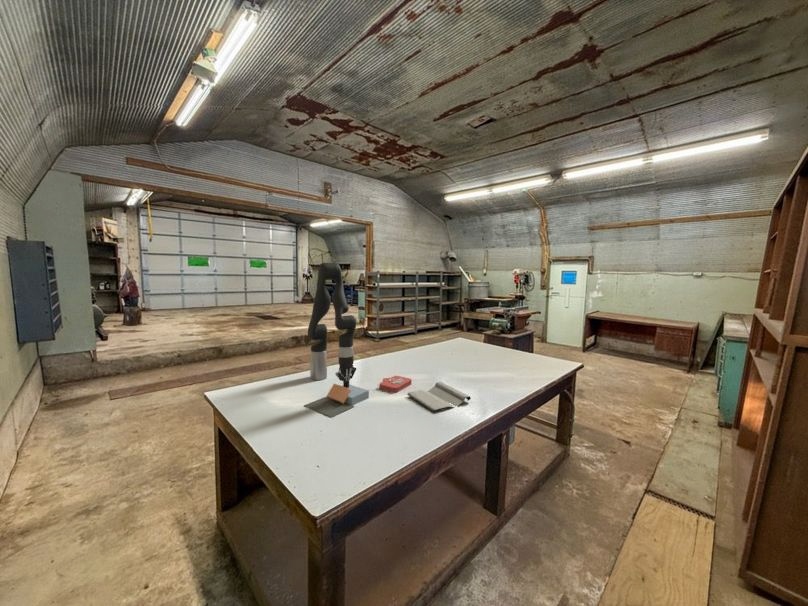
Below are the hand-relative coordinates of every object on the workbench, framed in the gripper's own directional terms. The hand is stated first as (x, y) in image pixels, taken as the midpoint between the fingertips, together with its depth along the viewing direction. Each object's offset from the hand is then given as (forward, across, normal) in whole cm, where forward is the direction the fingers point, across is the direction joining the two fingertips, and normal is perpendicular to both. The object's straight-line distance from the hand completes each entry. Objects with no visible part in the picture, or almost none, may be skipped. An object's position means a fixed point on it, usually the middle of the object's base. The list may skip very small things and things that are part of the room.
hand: (346, 387), depth 161 cm
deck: (+6, -2, 0) cm, 7 cm away
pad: (+6, +11, 0) cm, 13 cm away
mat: (+7, -28, +38) cm, 48 cm away
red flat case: (+7, -30, +7) cm, 32 cm away
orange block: (+2, +4, 0) cm, 5 cm away
